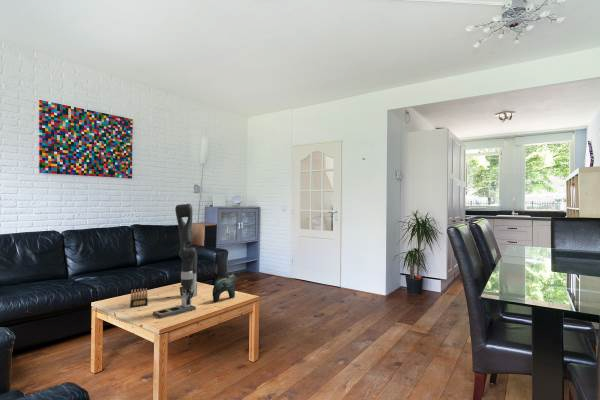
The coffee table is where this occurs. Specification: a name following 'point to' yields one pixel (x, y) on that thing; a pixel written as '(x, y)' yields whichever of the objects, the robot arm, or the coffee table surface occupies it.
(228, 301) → the coffee table surface
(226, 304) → the coffee table surface
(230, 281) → the dark green animal figure
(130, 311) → the coffee table surface
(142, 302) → the ammunition clip
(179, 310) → the grey peg board
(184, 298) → the grey metal block
